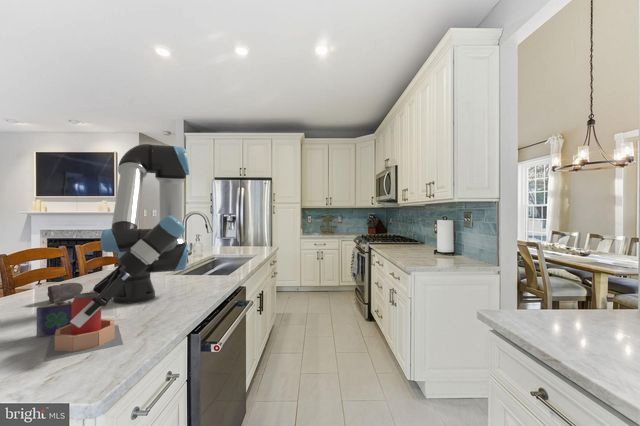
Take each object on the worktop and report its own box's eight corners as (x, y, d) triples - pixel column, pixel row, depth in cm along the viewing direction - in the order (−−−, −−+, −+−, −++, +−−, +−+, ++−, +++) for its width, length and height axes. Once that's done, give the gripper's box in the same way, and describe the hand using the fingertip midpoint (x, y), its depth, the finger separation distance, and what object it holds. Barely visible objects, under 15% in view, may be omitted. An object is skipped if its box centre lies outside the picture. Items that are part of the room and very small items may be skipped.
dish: (57, 338, 86) (57, 325, 86) (112, 328, 94) (112, 316, 94) (53, 355, 76) (53, 340, 76) (115, 342, 83) (115, 328, 83)
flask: (35, 339, 86) (35, 301, 86) (38, 335, 89) (38, 299, 89) (76, 333, 91) (76, 297, 91) (78, 329, 94) (78, 295, 94)
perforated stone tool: (77, 294, 134) (77, 278, 134) (87, 295, 133) (88, 279, 133) (41, 304, 120) (41, 286, 120) (52, 305, 119) (52, 287, 119)
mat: (51, 338, 87) (51, 337, 87) (117, 326, 97) (117, 324, 97) (43, 363, 73) (43, 361, 73) (123, 345, 82) (123, 344, 82)
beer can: (85, 343, 81) (85, 298, 81) (64, 341, 82) (65, 297, 82) (106, 334, 87) (107, 292, 87) (87, 332, 89) (88, 291, 89)
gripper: (156, 272, 84) (87, 339, 75) (143, 260, 104) (87, 313, 95) (134, 254, 81) (59, 322, 72) (124, 246, 101) (65, 299, 92)
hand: (75, 317), depth 83 cm, fingers open, 13 cm apart
